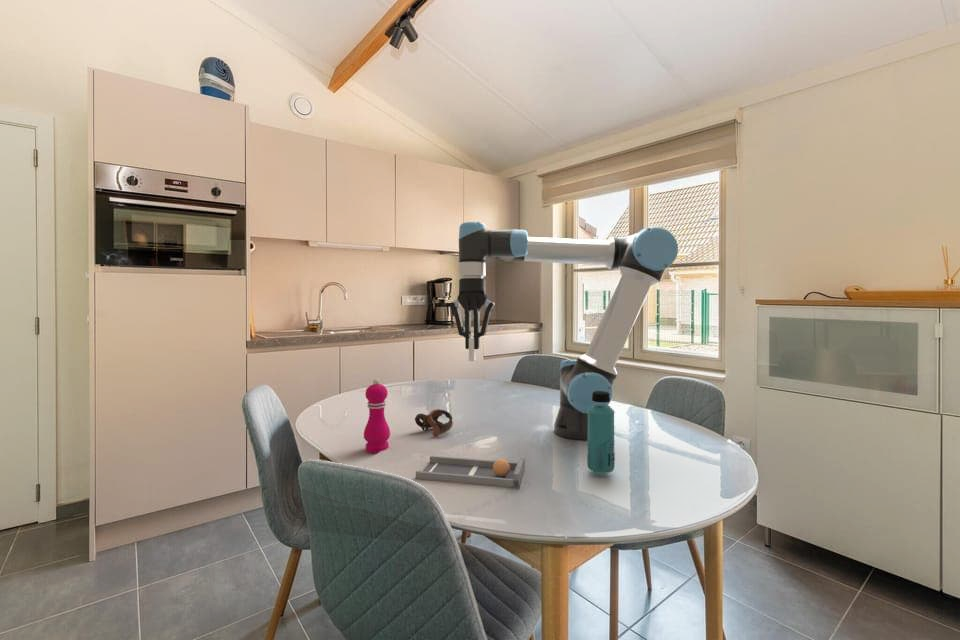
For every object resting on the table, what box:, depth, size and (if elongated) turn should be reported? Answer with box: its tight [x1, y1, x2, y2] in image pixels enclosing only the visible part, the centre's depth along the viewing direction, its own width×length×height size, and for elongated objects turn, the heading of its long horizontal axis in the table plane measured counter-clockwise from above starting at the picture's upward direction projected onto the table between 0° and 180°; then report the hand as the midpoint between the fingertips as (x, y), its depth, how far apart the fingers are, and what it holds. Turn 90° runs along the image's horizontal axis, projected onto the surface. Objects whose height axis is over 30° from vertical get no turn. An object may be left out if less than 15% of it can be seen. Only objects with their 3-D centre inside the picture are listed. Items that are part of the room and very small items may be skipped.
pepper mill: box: [363, 378, 391, 454], centre depth 125 cm, size 7×7×20 cm
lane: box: [415, 455, 526, 491], centre depth 107 cm, size 24×11×4 cm, turn 78°
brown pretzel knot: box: [414, 408, 454, 438], centre depth 141 cm, size 12×10×8 cm
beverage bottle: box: [586, 391, 616, 474], centre depth 107 cm, size 6×7×20 cm
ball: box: [493, 458, 510, 477], centre depth 105 cm, size 4×4×4 cm
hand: (472, 360), depth 128 cm, fingers closed
